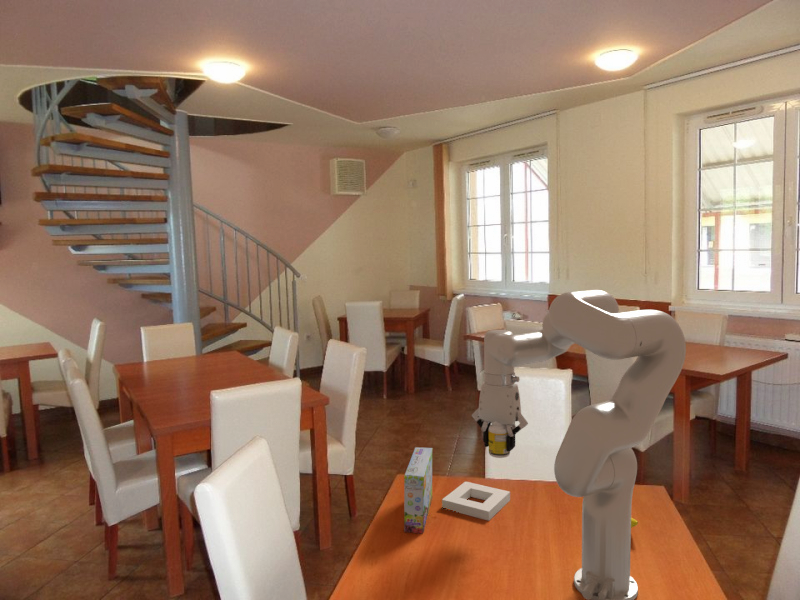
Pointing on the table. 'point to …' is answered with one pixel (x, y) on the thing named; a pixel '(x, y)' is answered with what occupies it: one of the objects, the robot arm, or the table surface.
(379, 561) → the table surface
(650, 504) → the table surface
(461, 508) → the holder plate
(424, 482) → the snack box
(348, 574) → the table surface
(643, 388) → the robot arm
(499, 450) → the supplement bottle
